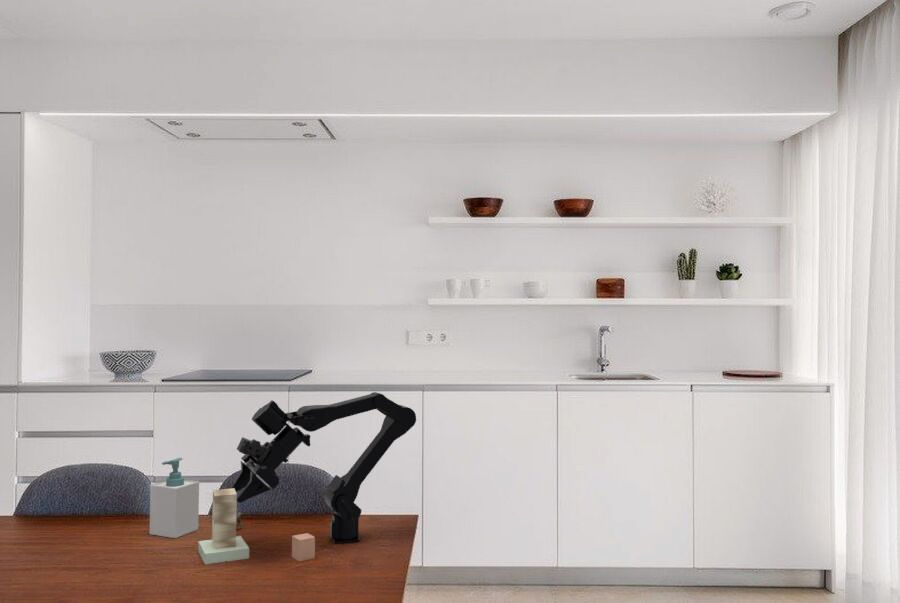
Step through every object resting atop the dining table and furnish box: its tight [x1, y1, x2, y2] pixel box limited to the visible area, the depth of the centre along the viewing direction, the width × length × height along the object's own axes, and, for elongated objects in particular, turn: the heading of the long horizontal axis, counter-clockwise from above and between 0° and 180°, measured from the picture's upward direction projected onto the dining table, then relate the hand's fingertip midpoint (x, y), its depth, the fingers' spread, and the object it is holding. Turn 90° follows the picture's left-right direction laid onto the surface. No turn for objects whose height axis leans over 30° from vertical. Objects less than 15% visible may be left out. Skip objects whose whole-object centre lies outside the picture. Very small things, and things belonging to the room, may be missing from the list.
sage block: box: [197, 535, 250, 565], centre depth 174 cm, size 10×10×3 cm
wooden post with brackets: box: [236, 511, 244, 530], centre depth 193 cm, size 2×8×4 cm, turn 143°
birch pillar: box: [211, 487, 238, 549], centre depth 174 cm, size 5×5×12 cm
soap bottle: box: [149, 457, 200, 539], centre depth 192 cm, size 9×9×19 cm
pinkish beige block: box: [291, 532, 316, 562], centre depth 173 cm, size 4×4×5 cm
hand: (234, 496), depth 176 cm, fingers open, 9 cm apart
